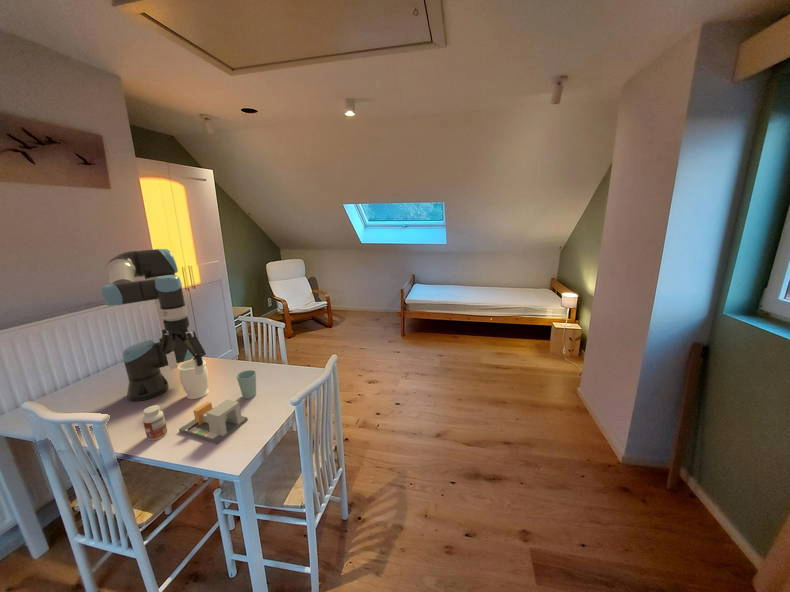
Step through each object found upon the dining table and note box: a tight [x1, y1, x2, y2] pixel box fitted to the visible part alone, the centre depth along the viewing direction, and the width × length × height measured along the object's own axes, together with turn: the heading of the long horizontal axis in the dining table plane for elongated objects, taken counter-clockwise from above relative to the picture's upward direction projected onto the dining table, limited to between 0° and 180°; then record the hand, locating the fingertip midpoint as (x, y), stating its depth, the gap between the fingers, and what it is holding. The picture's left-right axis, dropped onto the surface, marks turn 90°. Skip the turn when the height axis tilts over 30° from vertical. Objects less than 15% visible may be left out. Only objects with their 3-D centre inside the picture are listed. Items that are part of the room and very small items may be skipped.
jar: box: [177, 359, 210, 400], centre depth 143 cm, size 11×10×15 cm
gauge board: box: [178, 399, 249, 445], centre depth 122 cm, size 19×14×9 cm
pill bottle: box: [142, 404, 168, 441], centre depth 117 cm, size 6×6×11 cm
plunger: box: [187, 401, 226, 431], centre depth 120 cm, size 10×10×6 cm
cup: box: [236, 369, 257, 400], centre depth 142 cm, size 8×8×10 cm
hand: (186, 370), depth 123 cm, fingers open, 13 cm apart
